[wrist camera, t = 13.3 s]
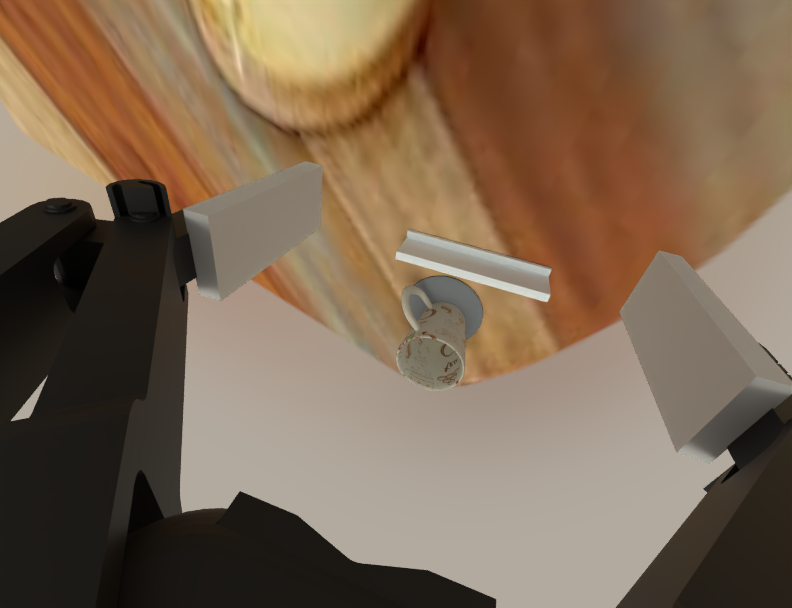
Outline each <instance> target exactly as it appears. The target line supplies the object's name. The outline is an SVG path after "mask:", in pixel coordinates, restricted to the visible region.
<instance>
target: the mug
mask: <svg viewBox="0 0 792 608" xmlns="http://www.w3.org/2000/svg"><path fill="white" fill-rule="evenodd" d="M412 294H416V295H419V296H420V297H421V298H422V300H423V301H424V303H425V304H426V305H427V308H426V310H425V311H424V312H423V314H422V315H421V317H420V318H419V319H418V321H417V320H416V318H415V317H414V315H413V313H412V311H411V308H410V302H409V298H410V296H411V295H412ZM401 301H402V308H403V312H404V314H405V316H406V318H407V320H408V321H409V323H410V324H411V326H412V327H413V328H412V329H411V331H410V332H409V333H408V335H407V336H406V338H405V339H404V340H403V342H402V343H401V345H400V347H399V349H398V351H397V355H396V362H397V366H398V368H399V370H400V372H401V373H402V375H403V376H404V377H405V378H406V379H407V380H408V381H410V382H411V383H413V384H414V385H416V386H418V387H421V388H423V389H427V390H434V391H439V390H446V389H449V388H452V387H453V386H455V385H456V384H458V383H459V381H460V380H461V379H462V377H463V374H464V370H465V317H464V315H463V313H462V311H461V310H460V309H459V308H458V307H456V306H455V305H453V304H451V303H447V302H436V303H433V304H432V303H431V302H430V300H429V298H428V297H427V295H426V294H425V292H424V291H423V290H421V289H420V288H418V287H415V286H406V287H405V288H404V289H403V291H402V297H401Z"/></svg>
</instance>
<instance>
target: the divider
mask: <svg viewBox="0 0 792 608" xmlns="http://www.w3.org/2000/svg"><path fill="white" fill-rule="evenodd" d="M395 259H398V260H401V261H405V262H408V263H412V264H415V265H419V266H422V267H426V268H429V269H433V270H436V271H439V272H443V273H446V274H450V275H453V276H457V277H460V278H464V279H467V280H471V281H474V282H478V283H481V284H485V285H488V286H492V287H495V288H499V289H502V290H506V291H509V292H513V293H516V294H520V295H523V296H527V297H530V298H534V299H537V300H541V301H544V302H547V301H548V299H549V297H550V295H551V294H550V286H549V278H548V277H549V275H550V273H551V270H552V268H551V267H547V266H543V265H540V264H536V263H532V262H529V261H525V260H521V259H518V258H514V257H510V256H507V255H503V254H499V253H496V252H492V251H488V250H484V249H481V248H477V247H473V246H470V245H466V244H462V243H459V242H455V241H451V240H448V239H444V238H440V237H437V236H433V235H429V234H425V233H422V232H418V231H414V230H411V229H409V230H408V233H407V238H406V239H405V241H404V242H403V244H402V245H401V246H400V248H399V249H398V250H397V253H396V258H395Z"/></svg>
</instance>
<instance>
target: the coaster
mask: <svg viewBox="0 0 792 608" xmlns="http://www.w3.org/2000/svg"><path fill="white" fill-rule="evenodd" d="M414 286H415V287H418V288H420V289H421V290H423V291H424V292H425V294H426V295H427V297H428V298H429V300H430V302H431V303H432V304H433V303H436V302H447V303H451V304H453V305H455V306H456V307H458V308H459V309H460V310H461V311H462V313H463V315H464V317H465V340H466V339H468V338H470V337H471V336H472V335H474V334H475V332H476V331H477V330H478V328H479V327H480V325H481V322H482V317H483V308H482V304H481V301H480V299H479V297H478V295H477V294H476V293H475V291H474V290H473V289H472V288H471V287H469V286H468V285H467V284H465V283H464V282H462V281H460V280H458V279H455V278H452V277H448V276H432V277H428V278H425V279H423V280H421V281H419V282H418V283H416V284H415V285H414ZM409 302H410V308H411V311H412V313H413V315H414V317H415V318H416V320H417V321H418V319H419V318H420V317H421V315H422V314H423V312H424V311H425V310H426V308H427V305H426V304H425V303H424V301H423V300H422V298H421V297H420V296H419V295H416V294H412V295H411V296H410V298H409Z"/></svg>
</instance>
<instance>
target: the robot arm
mask: <svg viewBox="0 0 792 608" xmlns="http://www.w3.org/2000/svg"><path fill="white" fill-rule="evenodd" d="M322 167H323V166H322V165H318V164H314V163H310V162H306V161H305V162H303V163H300V164H298V165H295V166H293V167H290V168H287V169H285V170H282V171H280V172H277V173H274V174H272V175H269V176H267V177H264V178H262V179H259V180H256V181H254V182H251V183H249V184H246V185H243V186H241V187H238V188H236V189H233V190H230V191H228V192H225V193H223V194H220V195H218V196H215V197H212V198H210V199H207V200H205V201H202V202H199V203H197V204H194V205H192V206H189V207H187V208H184V209H183V210H180V211H178V212H175V213H173V214H171V209H170V205H169V200H168V195H167V190H166V187H165V185H164V184H162V183H160V182H156V181H152V180H142V179H132V180H122V181H117V182H114V183H110V184H109V185H107V186H106V190H107V193H108V197H109V200H110V203H111V207H112V210H113V213H114V216H115V219H114V221H107V220H98V219H95V216H94V213H93V210H92V207H91V205H90V204H89V203H88V202H85V201H83V200H76V199H66V198H52V199H48V200H46V201H42V202H38V203H36V204H33V205H30V206H29V207H27V208H25V209H24V210H22V211H20V212H18V213H16V214H15V215H13V216H11V217H9V218H8V219H6V220H4V221H2V222H1V223H0V608H496V599H494V598H492V597H490V596H487V595H485V594H483V593H480V592H478V591H476V590H473V589H471V588H468V587H466V586H464V585H461V584H459V583H457V582H454V581H452V580H449V579H447V578H445V577H442V576H440V575H437V574H435V573H432V572H430V571H428V570H419V569H409V568H400V567H391V566H381V565H371V564H362V563H357V562H354V561H352V560H350V559H349V558H347V557H346V556H345V555H344V554H342V553H341V552H340V551H339V550H338V549H336V548H335V547H334V546H333V545H332V544H331V543H329V542H328V541H327V540H326V539H324V538H323V537H322V536H321V535H320V534H319V533H318V532H316V531H315V530H314V529H313V528H312V527H310V526H309V525H308V524H307V523H306V522H304V521H303V520H302V519H301V518H300V517H299V516H297V515H295V514H293V513H290V512H288V511H286V510H283V509H281V508H279V507H276V506H273V505H271V504H269V503H267V502H264V501H262V500H259V499H257V498H255V497H252V496H250V495H248V494H245V493H243V492H241V491H240V492H239V493H238V495H237V496H236V497H235V499H234V500H233V502H232V503H231V505H230V506H229V508H228V509H224V508H215V509H201V510H195V511H188V512H184V513H182V508H181V501H180V470H181V445H182V423H183V402H184V379H185V357H186V335H187V313H188V290H187V285H186V283H188V282H189V281H191V280H193V279H195V278H196V280H197V286H198V291H199V294H200V295H203V296H206V297H209V298H212V299H215V300H218V301H222V300H223V299H224V298H226V297H227V296H228V295H230V294H231V293H233V292H234V291H235V290H237V289H238V288H239V287H241V286H242V285H243V284H245V283H246V282H247V281H249V280H250V279H252V278H253V277H254V276H256V275H257V274H258V273H260V272H261V271H262V270H264V269H265V268H266V267H268V266H269V265H270V264H272V263H273V262H275V261H276V260H277V259H279V258H280V257H281V256H283V255H284V254H285V253H287V252H288V251H289V250H291V249H292V248H293V247H295V246H296V245H298V244H299V243H300V242H302V241H303V240H304V239H306V238H307V237H308V236H310V235H311V234H312V233H314V232H315V231H316V230H318V229H319V228H320V219H321V193H322ZM55 276H56V278H57V279H56V278H55ZM620 315H621V317H622V320H623V322H624V324H625V327H626V329H627V332H628V334H629V337H630V339H631V342H632V344H633V347H634V349H635V352H636V354H637V356H638V359H639V361H640V364H641V366H642V369H643V371H644V374H645V376H646V379H647V381H648V384H649V386H650V388H651V391H652V393H653V396H654V398H655V401H656V403H657V406H658V408H659V411H660V413H661V416H662V418H663V420H664V423H665V425H666V427H667V430H668V433H669V435H670V438H671V440H672V442H673V445H674V447H675V450H676V452H677V453H679V454H682V455H685V456H688V457H691V458H694V459H697V460H700V461H703V462H706V463H709V464H710V463H711V462H712V461H713V460H715V459H716V458H717V457H718V456H719V455H721V454H722V453H723V452H724V451H725V450H726V449H728V450H729V452H730V454H731V456H732V458H733V460H734V461H735V464H734V465H732V466H731V467H730V468H729V469H727V470H726V471H725V472H724V473H723V474H721V475H720V476H719V477H717V478H716V479H715V480H714V481H712V482H711V483H710V484H709V485H707V486H706V487H705V488H704V490H705V491H706V492H707V494H706V495H705V497H704V498H703V499H702V500H701V502H700V503H699V504H698V505H697V507H696V508H695V509H694V510H693V512H692V513H691V514H690V516H689V517H688V518H687V519H686V520H685V522H684V523H683V524H682V525H681V527H680V528H679V529H678V530H677V532H676V533H675V534H674V535H673V537H672V538H671V539H670V540H669V542H668V543H667V544H666V545H665V547H664V548H663V549H662V550H661V552H660V553H659V554H658V555H657V557H656V558H655V559H654V561H653V562H652V563H651V564H650V565H649V567H648V568H647V569H646V571H645V572H644V573H643V574H642V576H641V577H640V578H639V579H638V580H637V582H636V583H635V584H634V586H633V587H632V588H631V589H630V591H629V592H628V593H627V594H626V595H625V597H624V598H623V599H622V600H621V602H620V603H619V604H618V606H617V607H616V608H792V377H791V376H790V375H787V373H788V372H787V371H786V370H785V369H784V368H783V367H782V366H781V365H780V364H777V363H778V361H777V360H776V359H775V358H774V357H773V355H771V353H770V352H769V351H768V350H767V349H766V348H765V347H763V346H762V345H761V344H759V343H758V342H757V341H756V340H755V339H754V338H753V337H752V335H751V334H750V333H749V332H748V331H747V330H746V329H745V328H744V326H743V325H742V324H741V323H740V322H739V321H738V320H737V318H736V317H735V316H734V315H733V314H732V313H731V312H730V311H729V309H728V308H727V307H726V306H725V305H724V304H723V303H722V301H721V300H720V299H719V298H718V297H717V296H716V295H715V293H714V292H713V291H712V290H711V289H710V288H709V287H708V286H707V284H706V283H705V282H704V281H703V280H702V279H701V278H700V277H699V275H698V274H697V273H696V272H695V271H694V270H693V268H692V267H691V266H690V265H689V264H688V263H687V262H686V261H685V259H684V258H683V257H682V256H679V255H675V254H671V253H667V252H663V251H658V253H657V254H656V256H655V257H654V259H653V260H652V262H651V264H650V265H649V267H648V268H647V270H646V271H645V273H644V274H643V276H642V278H641V279H640V281H639V282H638V284H637V285H636V287H635V288H634V290H633V292H632V293H631V295H630V296H629V298H628V299H627V301H626V303H625V304H624V306H623V307H622V309H621V310H620ZM47 375H48V377H47ZM46 377H47V379H46V382H45V384H44V386H43V389H42V391H41V393H40V396H39V398H38V401H37V403H36V405H35V407H34V410H33V412H32V414H31V416H30V417H29V418H26V419H21V420H16V421H11V419H12V418H13V417H14V416H15V415H16V414H17V412H18V411H19V410H20V409H21V407H22V406H23V404H25V402H26V401H27V400H28V399H29V398H30V396H31V395H32V394H33V393H34V391H35V390H36V389H37V387H39V385H40V384H41V383H42V381H43V380H44V379H45V378H46Z"/></svg>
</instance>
